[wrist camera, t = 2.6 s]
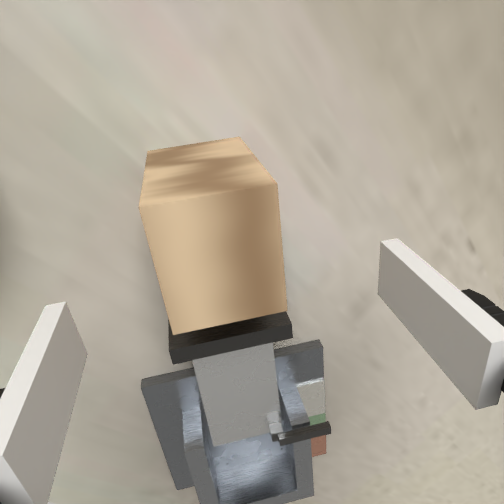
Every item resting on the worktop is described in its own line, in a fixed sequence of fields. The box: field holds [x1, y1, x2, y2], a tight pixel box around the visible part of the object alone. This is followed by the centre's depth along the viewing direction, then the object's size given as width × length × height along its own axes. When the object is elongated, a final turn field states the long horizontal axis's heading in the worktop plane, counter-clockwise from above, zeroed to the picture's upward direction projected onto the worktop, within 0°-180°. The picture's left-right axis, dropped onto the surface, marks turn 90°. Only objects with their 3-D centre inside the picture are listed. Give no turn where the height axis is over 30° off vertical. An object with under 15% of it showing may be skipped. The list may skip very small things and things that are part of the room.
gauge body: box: [141, 340, 326, 504], centre depth 36 cm, size 16×15×5 cm
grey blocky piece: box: [169, 311, 331, 446], centre depth 31 cm, size 11×13×5 cm
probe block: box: [139, 137, 287, 335], centre depth 23 cm, size 6×7×10 cm
